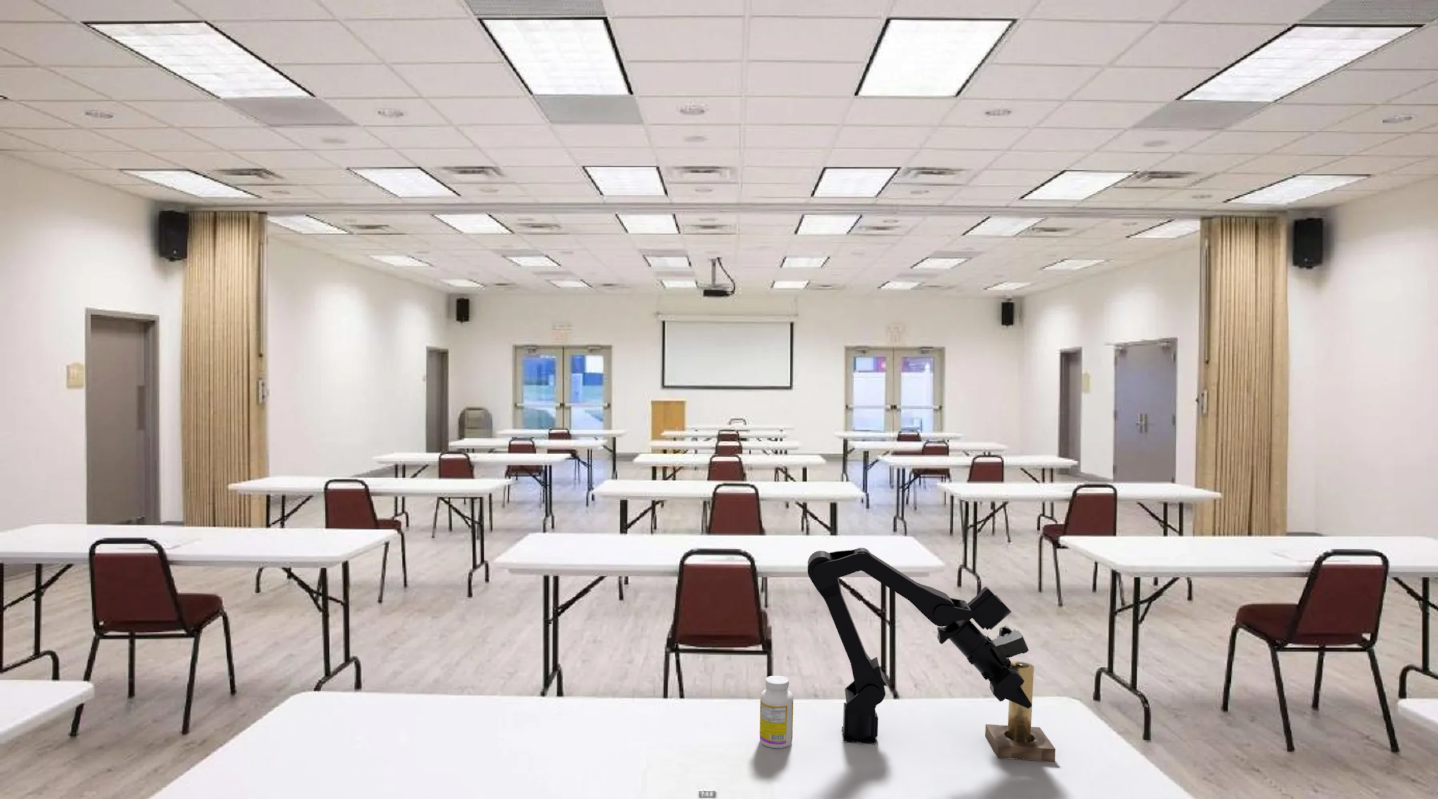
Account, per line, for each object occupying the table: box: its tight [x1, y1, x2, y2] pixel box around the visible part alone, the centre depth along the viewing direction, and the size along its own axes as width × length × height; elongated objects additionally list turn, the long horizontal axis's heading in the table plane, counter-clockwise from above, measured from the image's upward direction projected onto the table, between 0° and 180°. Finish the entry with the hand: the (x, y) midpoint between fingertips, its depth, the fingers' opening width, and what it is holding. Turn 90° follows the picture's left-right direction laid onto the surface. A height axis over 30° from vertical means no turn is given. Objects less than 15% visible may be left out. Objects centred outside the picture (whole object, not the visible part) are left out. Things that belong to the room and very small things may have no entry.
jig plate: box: [984, 723, 1056, 763], centre depth 167 cm, size 11×10×2 cm
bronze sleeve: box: [1007, 661, 1035, 743], centre depth 167 cm, size 4×4×15 cm
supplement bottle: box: [759, 675, 794, 749], centre depth 167 cm, size 7×7×13 cm
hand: (1027, 702), depth 167 cm, fingers closed on bronze sleeve, 4 cm apart
